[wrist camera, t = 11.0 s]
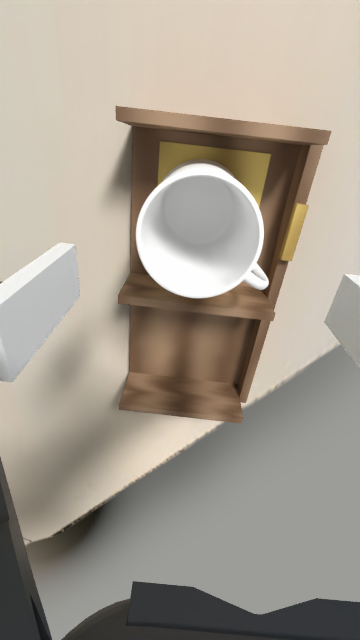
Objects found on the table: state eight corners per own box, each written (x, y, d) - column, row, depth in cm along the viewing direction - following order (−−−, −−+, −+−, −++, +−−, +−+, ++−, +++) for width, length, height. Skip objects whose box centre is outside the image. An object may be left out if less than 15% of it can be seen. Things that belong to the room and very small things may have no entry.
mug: (280, 233, 29) (325, 278, 19) (216, 286, 33) (225, 350, 22) (201, 135, 26) (202, 125, 15) (138, 207, 29) (104, 239, 19)
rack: (130, 371, 41) (119, 409, 35) (135, 116, 26) (115, 106, 20) (242, 384, 41) (249, 424, 35) (311, 136, 26) (345, 132, 20)
